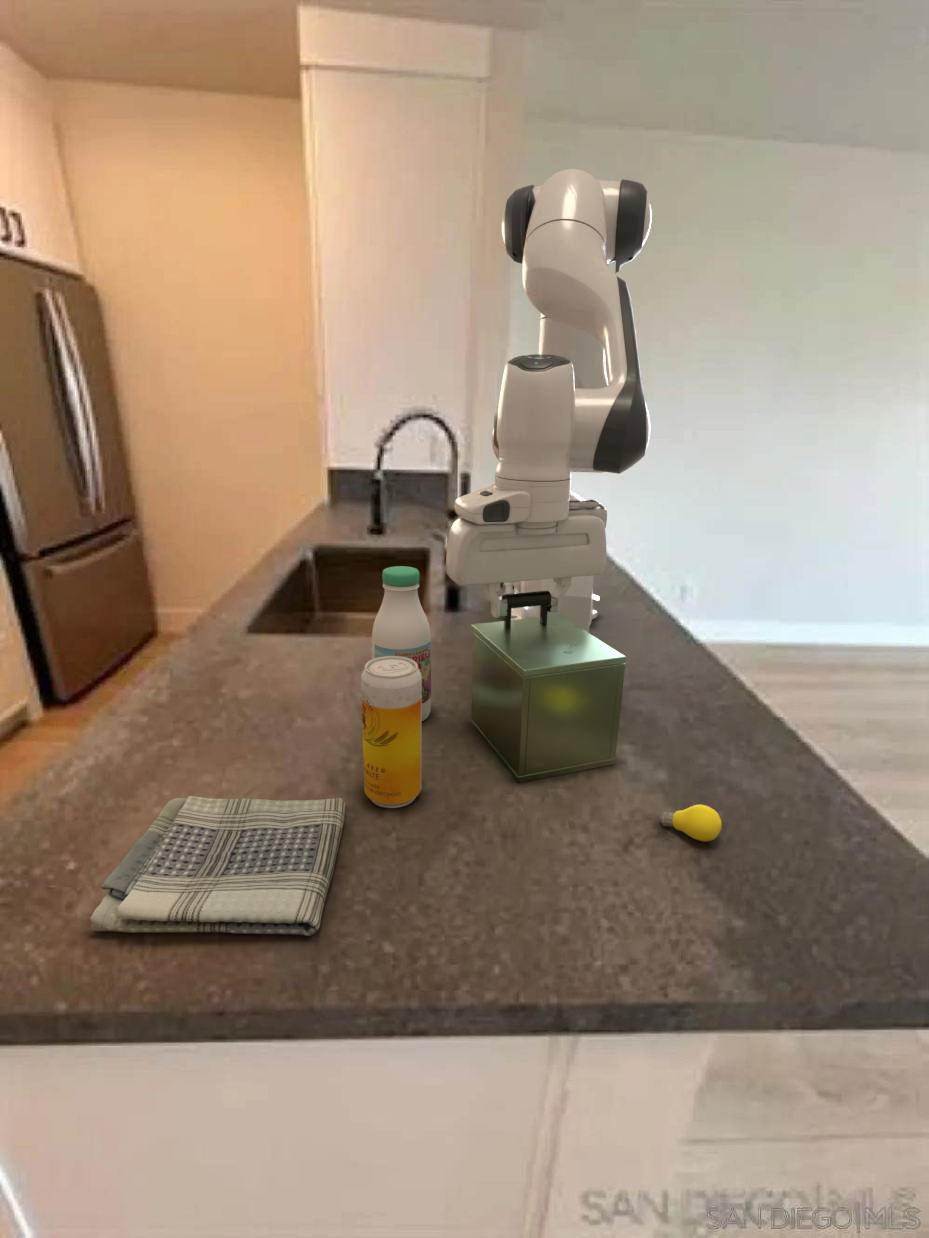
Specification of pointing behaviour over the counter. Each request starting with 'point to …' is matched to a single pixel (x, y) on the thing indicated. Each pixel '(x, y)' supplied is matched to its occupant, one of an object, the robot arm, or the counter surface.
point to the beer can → (392, 730)
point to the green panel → (544, 640)
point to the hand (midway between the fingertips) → (525, 613)
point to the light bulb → (695, 822)
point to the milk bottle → (404, 626)
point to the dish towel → (227, 868)
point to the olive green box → (545, 715)
